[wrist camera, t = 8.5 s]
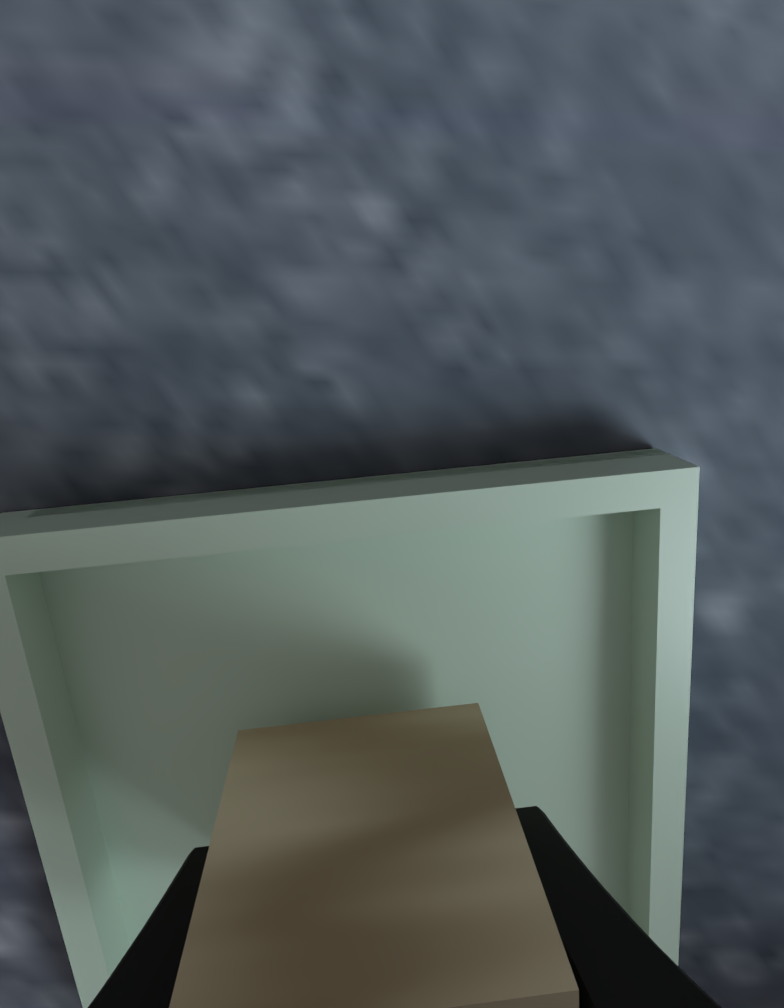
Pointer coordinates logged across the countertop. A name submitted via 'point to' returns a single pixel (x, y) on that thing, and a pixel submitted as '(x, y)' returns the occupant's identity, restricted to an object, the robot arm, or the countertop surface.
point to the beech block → (371, 874)
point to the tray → (351, 660)
